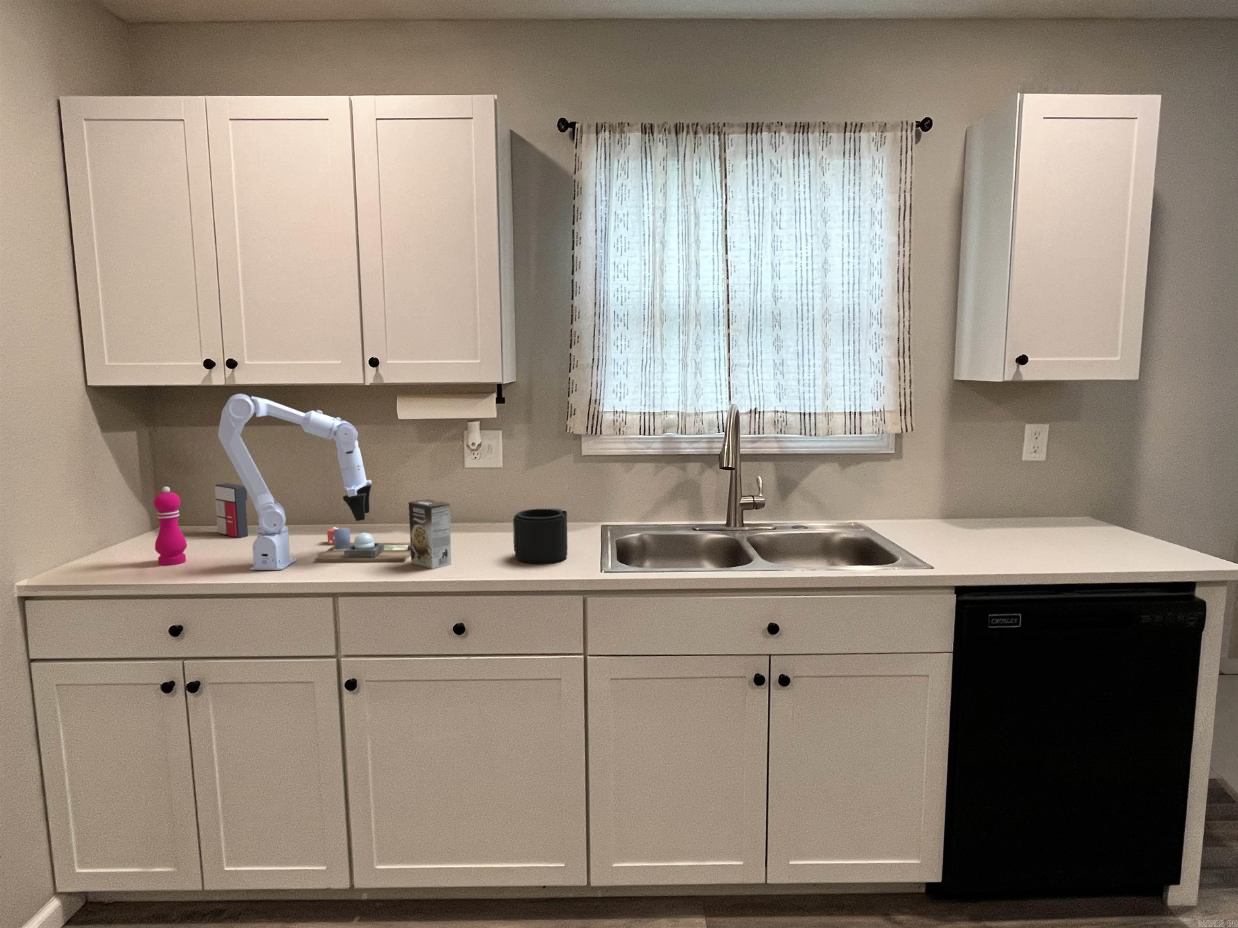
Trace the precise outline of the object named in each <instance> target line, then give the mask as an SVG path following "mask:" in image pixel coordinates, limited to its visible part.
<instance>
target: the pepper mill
mask: <svg viewBox="0 0 1238 928" xmlns="http://www.w3.org/2000/svg"><path fill="white" fill-rule="evenodd" d="M161 491H162V493H159V494H157V495H156V496H155V498H154V499H153V506H154V508H155V509H156V510H157V512H156V515H157V516H156V517H157V518H158V519H159V532H158V534H157V537H156V540H155V542H154V543H155V544H154V551H156V553H157V554H158V555H159V556H158V557H157V561H158V565H160V566H176V565H180V564H183V563H185V562H186V561H187V558H186V557H187V556H186V555H187V554H186V553H184V552H185V550H186V549H187V547H188V544H187V540H186V537H185V535H184V534H183V532H182V531H181V529H180V526H179V522H178V521H179V516H180V511H179V507H180V506H181V498H180V496H179V495H178V494H177V493H176V492H171V488H170V487H169V486H163V487H162V489H161Z"/></svg>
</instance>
